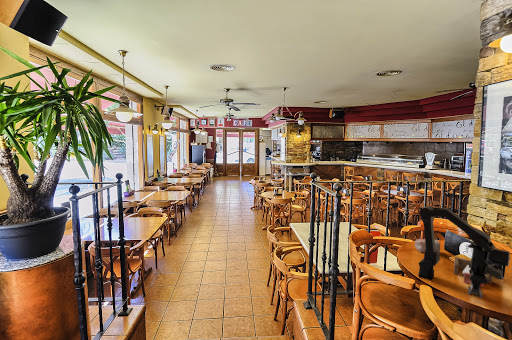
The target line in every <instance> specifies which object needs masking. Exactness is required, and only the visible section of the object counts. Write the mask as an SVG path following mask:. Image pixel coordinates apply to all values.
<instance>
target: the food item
mask: <svg viewBox="0 0 512 340" xmlns="http://www.w3.org/2000/svg"><path fill="white" fill-rule="evenodd" d="M434 240H435V249H436V251H437V252H440V251H441V242H439V240H438V239H434ZM414 248H415V249H416V250H417V251H418V252H419V253H421V254H425V250H426V245H425V237H424V238H423V239H422V238H417V239H416V240H415V241H414ZM440 253H441V252H440Z"/></svg>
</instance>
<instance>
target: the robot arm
mask: <svg viewBox="0 0 512 340" xmlns="http://www.w3.org/2000/svg"><path fill="white" fill-rule="evenodd" d="M418 211H419V213H418V214H419V216H420V220H421V222H422V223H423V233H424V238H425V245H426V250H425V253H423V254H424V255H423V258H422V259H421V260H420V261H419V262H418V266H419V269H418V274H417V275H418V277H419V278H422V279H424V280H425V279H426V280H430V281H433V279H434V278H435V277H434V276H435V269H434V267H436V265H437V264H438V263H439V262H440V260H441V259H442V258H441V252H437V251H436V249H435V240H436V239H435V231H434V229H435V228H434V220H435V218H437V217H444V218H446V220H448V221H449V222H450V223H452V224H453V225H455V226H456V227H457V228H458V229H459V230H461V231H463V232H464V234H466V235H467V237H468V238H469V240H471V241H472V243H470V244H469V245H468V246H467V248H469V249H472V255H471V259H470V260H471V262H469V268H471V270H469V272H470V280H471V281H472V284H473V287H474V289H475V290H478V288H479V286H480V284H481V283H483V284H484V285H488V284H489V283H488V278H487V277H486V275H487V273H488V274H490V275H491V276H492V278H493V277H494V278H495V279H496V280H499V279H500V278H501V277H502V275H503V272H502V270H501V269H500V268H499V265H500V266H505V267H509V265H510V258H511V256H510V253H511V252H510V251H508V250H503V249H499V248H496V246H495V244H493V242H492V239H491V236H490V235H489V234H488V233H486V232H484V231H483V230H481V229H478V228H476V227H474V226H472V225H471V224H470V223H469V222H467V221H466V220H464V219H463V218H461V217H460V216H459V215H457V214H456V213H455V212H453V211H452V210H451V209H450V208H449V207H433V206H431V205H426V206H424V207H421V208H420V209H419V210H418ZM488 259H489V261H490V262H491V263H493V264H489V263H488ZM485 274H486V275H485ZM480 287H481V286H480Z"/></svg>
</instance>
